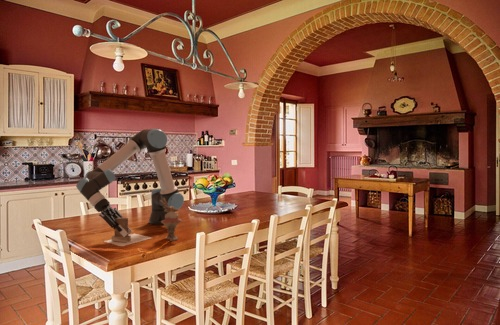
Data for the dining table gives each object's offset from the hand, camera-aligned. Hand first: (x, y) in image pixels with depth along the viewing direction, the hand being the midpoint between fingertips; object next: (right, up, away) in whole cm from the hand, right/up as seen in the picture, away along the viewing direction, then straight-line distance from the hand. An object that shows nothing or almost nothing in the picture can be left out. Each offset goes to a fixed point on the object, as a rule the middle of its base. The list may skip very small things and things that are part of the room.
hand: (128, 234), depth 186 cm
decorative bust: (+21, -5, +11) cm, 24 cm away
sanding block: (-4, -4, +1) cm, 6 cm away
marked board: (-1, -5, +4) cm, 7 cm away
